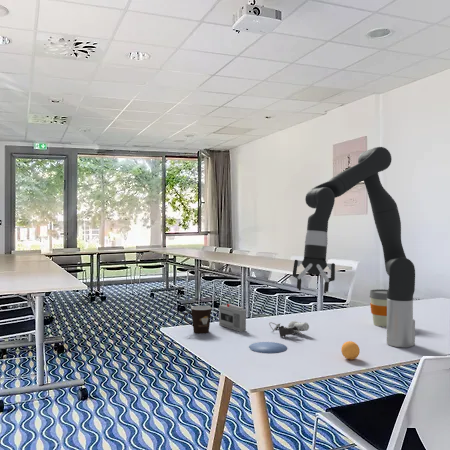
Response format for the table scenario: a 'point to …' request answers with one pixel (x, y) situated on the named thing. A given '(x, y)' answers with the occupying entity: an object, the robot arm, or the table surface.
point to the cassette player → (232, 317)
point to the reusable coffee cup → (379, 306)
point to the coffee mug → (200, 318)
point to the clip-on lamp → (291, 328)
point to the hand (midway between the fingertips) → (312, 291)
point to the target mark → (268, 347)
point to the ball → (350, 350)
